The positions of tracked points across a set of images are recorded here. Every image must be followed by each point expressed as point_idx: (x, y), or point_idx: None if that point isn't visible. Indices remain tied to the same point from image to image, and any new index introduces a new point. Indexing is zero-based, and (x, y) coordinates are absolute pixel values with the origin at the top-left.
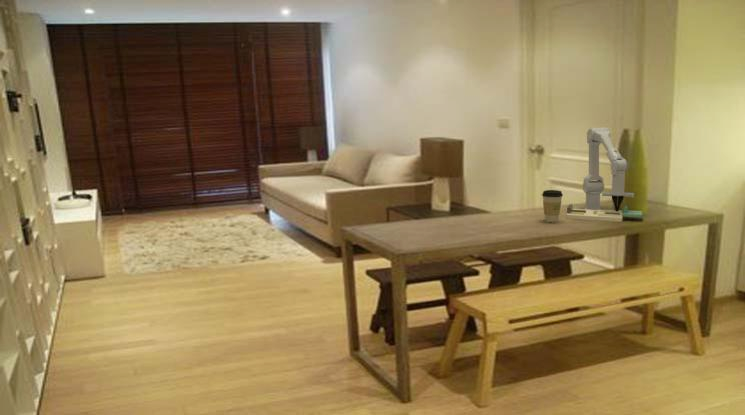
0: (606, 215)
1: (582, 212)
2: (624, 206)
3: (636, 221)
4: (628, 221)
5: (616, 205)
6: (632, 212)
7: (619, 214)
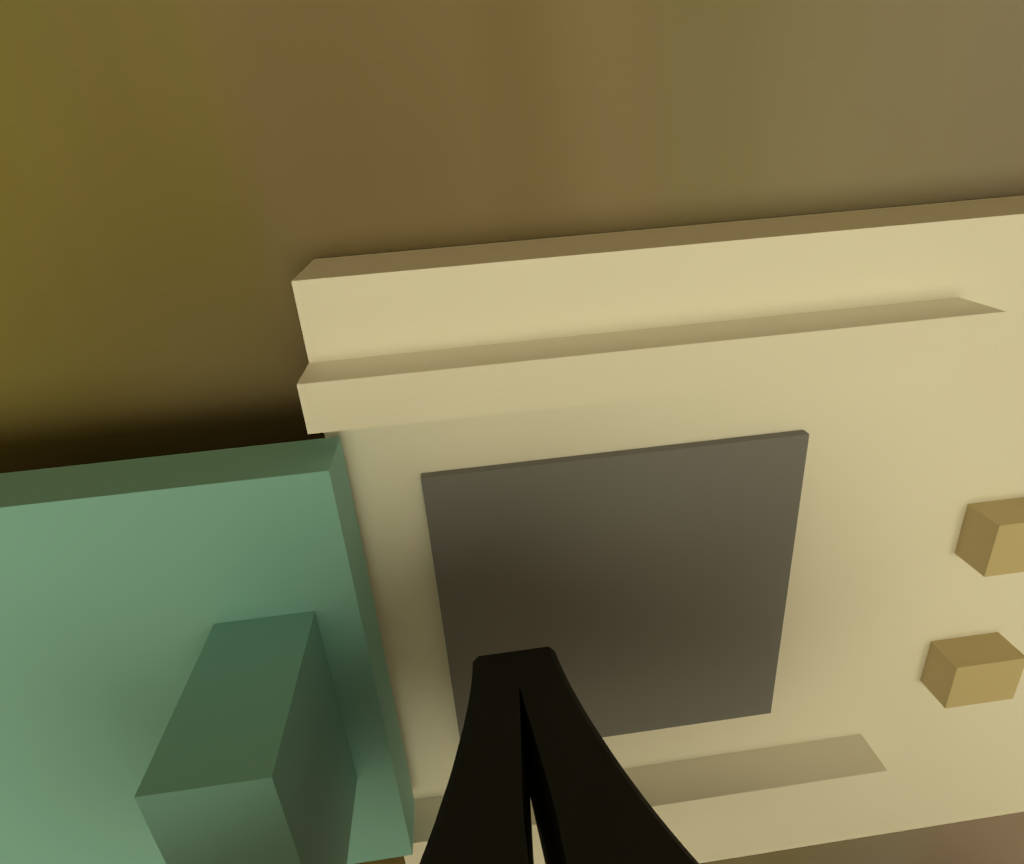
0: (761, 324)
1: None
2: (276, 838)
3: (10, 449)
4: (183, 379)
5: (565, 795)
6: (107, 735)
7: (446, 628)
